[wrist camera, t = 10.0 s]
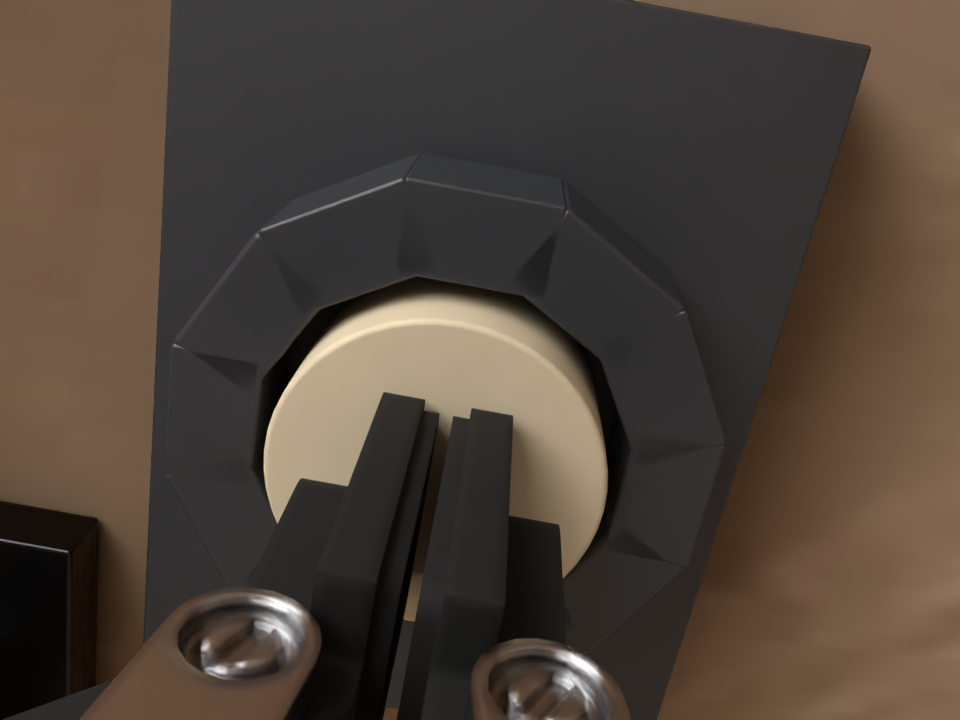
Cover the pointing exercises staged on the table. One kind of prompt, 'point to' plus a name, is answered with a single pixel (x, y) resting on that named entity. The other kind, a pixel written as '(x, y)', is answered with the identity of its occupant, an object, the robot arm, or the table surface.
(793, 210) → the button block
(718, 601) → the table surface
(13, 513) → the lever bracket
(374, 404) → the button
